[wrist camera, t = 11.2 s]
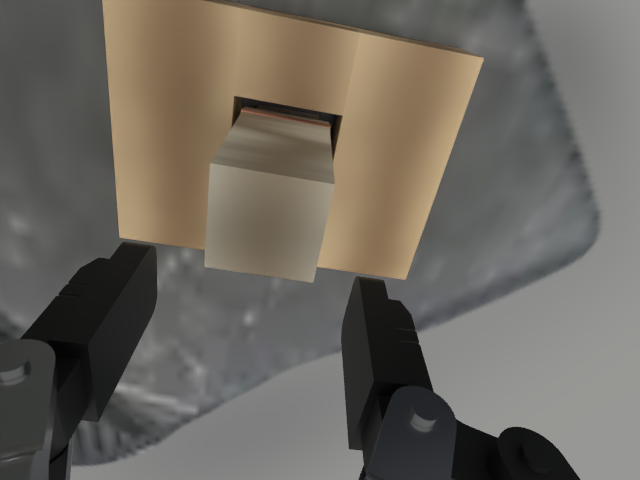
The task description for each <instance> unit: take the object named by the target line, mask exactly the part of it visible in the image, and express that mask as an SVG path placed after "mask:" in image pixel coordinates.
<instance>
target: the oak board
mask: <svg viewBox="0 0 640 480" xmlns="http://www.w3.org/2000/svg"><path fill="white" fill-rule="evenodd" d="M102 2H103V16H104V30H105V44H106V57H107V71H108V85H109V99H110V113H111V126H112V140H113V154H114V168H115V182H116V195H117V209H118V223H119V237H120V238H126V239H133V240H140V241H147V242H153V243H160V244H167V245H174V246H181V247H187V248H194V249H201V250H205V246H206V227H207V209H208V190H209V171H210V162H211V161H212V159H213V157H214V156H215V154H216V153H217V151H218V149H219V148H220V146H221V144H222V143H223V141H224V140H225V138H226V136H227V135H228V133H229V132H230V130H231V128H232V127H233V125H234V124H235V122H236V120H237V119H238V117H239V115H240V114H241V109H242V100H243V97H244V98H249V99H255V100H260V101H265V102H271V103H276V104H282V105H287V106H293V107H298V108H303V109H309V110H314V111H320V112H325V113H330V114H336V115H337V117H336V122H335V127H334V132H333V137H332V142H331V148H332V158H333V169H334V180H335V186H334V191H333V195H332V200H331V205H330V209H329V214H328V218H327V223H326V227H325V232H324V236H323V241H322V245H321V250H320V255H319V259H318V264H317V267H323V268H330V269H337V270H343V271H350V272H357V273H364V274H371V275H377V276H384V277H391V278H398V279H404V280H406V277H407V274H408V271H409V269H410V266H411V263H412V260H413V257H414V254H415V252H416V249H417V246H418V243H419V240H420V238H421V235H422V232H423V229H424V226H425V223H426V221H427V218H428V215H429V212H430V209H431V207H432V204H433V201H434V198H435V195H436V192H437V190H438V187H439V184H440V181H441V178H442V175H443V173H444V170H445V167H446V164H447V161H448V159H449V156H450V153H451V150H452V147H453V144H454V142H455V139H456V136H457V133H458V130H459V128H460V125H461V122H462V119H463V116H464V113H465V111H466V108H467V105H468V102H469V99H470V97H471V94H472V91H473V88H474V85H475V82H476V80H477V77H478V74H479V71H480V68H481V66H482V63H483V60H484V58H483V57H480V56H478V55H475V54H473V53H470V52H468V51H465V50H462V49H457V48H453V47H448V46H443V45H438V44H433V43H428V42H423V41H419V40H414V39H409V38H404V37H399V36H394V35H389V34H385V33H380V32H375V31H370V30H365V29H360V28H355V27H351V26H346V25H341V24H336V23H331V22H326V21H322V20H317V19H312V18H307V17H302V16H297V15H292V14H288V13H283V12H278V11H273V10H268V9H263V8H258V7H254V6H249V5H244V4H239V3H234V2H229V1H224V0H102Z"/></svg>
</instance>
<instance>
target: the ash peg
mask: <svg viewBox="0 0 640 480" xmlns="http://www.w3.org/2000/svg"><path fill="white" fill-rule="evenodd" d="M330 129H331V124H329V122H327V121H322V120H319V115H315V114H310V113H305V112H299V111H294V110H289V109H283V108H278V107H273V106H267V105H262V104H259V105H258V107H257V108H252V107H246V106H245V107H244V108H242V109H241V114H240V115H239V117H238V119H237V120H236V122H235V124H234V125H233V127H232V128H231V130H230V132H229V133H228V135H227V136H226V138H225V140H224V141H223V143H222V144H221V146H220V148H219V149H218V151H217V153H216V154H215V156H214V157H213V159H212V161H211V162H210V171H209V190H208V209H207V227H206V246H205V265H204V267H209V268H216V269H223V270H230V271H236V272H243V273H250V274H257V275H264V276H271V277H278V278H284V279H291V280H298V281H305V282H312V283H313V282H314V277H315V273H316V268H317V264H318V259H319V255H320V250H321V245H322V241H323V236H324V232H325V227H326V223H327V218H328V214H329V209H330V205H331V200H332V195H333V191H334V186H335V180H334V169H333V158H332V148H331V137H330Z"/></svg>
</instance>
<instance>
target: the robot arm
mask: <svg viewBox="0 0 640 480" xmlns="http://www.w3.org/2000/svg"><path fill="white" fill-rule="evenodd" d="M156 300H157V256H156V248H155V247H154V246H150V245H144V244H137V243H130V242H123V243H122V244H121V245H120V246H119V248H118V249H117V250H116V251H115V253H114V254H113V255H112V257H111V258H110V259H105V258H97V259H95V260H94V261H92V262H90V263H88V264H87V265H85V266H83V267H81V268H80V269H79V270H78V271H77V273H76V274H75V275H74V276H73V277H72V279H71V280H70V281H69V284H68V285H66V286H65V287H64V288H63V289H62V290H61V291H60V293H59V296H56V297H55V299H54V300H53V301H52V302H51V303H50V304H49V306H48V307H47V308H46V309H45V310H44V311H43V313H42V314H41V315H40V316H39V317H38V319H37V320H36V321H35V322H34V323H33V324H32V326H31V327H30V328H29V329H28V330H27V331H26V333H25V334H24V335H23V336H22V337H21V339H19V340H13V341H8V342H5V343H1V344H0V480H70V472H71V460H72V447H73V445H72V435H73V434H74V432H75V430H76V428H77V426H78V424H79V423H80V421H81V420H85V421H94V422H99V420H100V418H101V416H102V414H103V412H104V410H105V408H106V406H107V404H108V402H109V400H110V398H111V396H112V394H113V392H114V390H115V388H116V386H117V384H118V382H119V380H120V378H121V376H122V374H123V372H124V370H125V368H126V366H127V364H128V362H129V360H130V358H131V356H132V354H133V352H134V350H135V348H136V346H137V345H138V343H139V341H140V339H141V337H142V335H143V333H144V331H145V329H146V327H147V325H148V323H149V321H150V319H151V317H152V315H153V312H154V309H155V305H156ZM341 343H342V357H343V371H344V383H345V384H344V385H345V398H346V399H345V400H346V414H347V428H348V442H349V449H354V450H363V459H364V466H363V468H362V471H361V473H360V476H359V479H358V480H580V478H579V477H578V476H577V474H576V473H575V472H574V470H573V469H572V467H571V466H570V465H569V463H568V462H567V460H566V459H565V457H564V456H563V455H562V454H561V452H560V451H559V450H558V449H557V448H556V447H555V446H554V445H553V444H552V443H551V442H550V441H549V440H547V439H546V438H544V437H543V436H541V435H540V434H538V433H536V432H534V431H532V430H529V429H526V428H522V427H511V428H507V429H506V430H504V431H503V432H502V433H501V434H500V436H499V437H498V438H497V437H494V436H492V435H489V434H487V433H484V432H482V431H480V430H477V429H475V428H472V427H470V426H468V425H465V424H463V423H462V422H460V421H458V420H457V419H456V418H455V415H454V413H453V411H452V409H451V408H450V406H449V405H448V403H447V402H445V400H444V399H443V398H441V397H440V396H439V395H437V394H436V393H434V391H433V388H432V384H431V381H430V378H429V375H428V371H427V367H426V364H425V361H424V357H423V354H422V350H421V347H420V345H419V340H418V336H417V333H416V332H415V326H414V323H413V319H412V316H411V314H410V313H409V311H408V310H407V309H406V308H405V306H404V305H403V304H402V303H401V301H398V300H391V299H388V295H387V291H386V286H385V282H384V280H380V279H373V278H366V277H359V276H357V277H356V278H355V280H354V283H353V287H352V290H351V294H350V297H349V301H348V305H347V308H346V312H345V315H344V319H343V325H342V333H341Z"/></svg>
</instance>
